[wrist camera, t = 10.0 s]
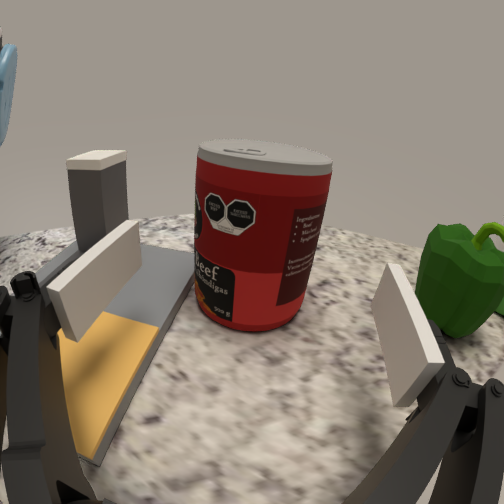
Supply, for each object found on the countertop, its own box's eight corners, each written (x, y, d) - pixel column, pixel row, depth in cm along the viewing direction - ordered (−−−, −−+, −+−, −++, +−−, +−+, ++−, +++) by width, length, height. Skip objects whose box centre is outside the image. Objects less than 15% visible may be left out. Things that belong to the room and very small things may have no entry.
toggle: (77, 250, 22) (66, 159, 18) (100, 232, 25) (93, 150, 21) (110, 257, 21) (100, 159, 17) (131, 238, 25) (126, 150, 21)
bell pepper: (392, 286, 25) (426, 186, 20) (455, 296, 24) (491, 208, 19) (416, 351, 17) (478, 226, 12) (487, 352, 16) (544, 250, 12)
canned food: (192, 271, 24) (196, 136, 18) (283, 269, 25) (305, 144, 20) (197, 338, 17) (199, 156, 12) (315, 329, 19) (358, 170, 14)
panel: (-39, 364, 10) (-53, 344, 9) (86, 242, 26) (83, 224, 25) (99, 466, 9) (84, 452, 8) (203, 264, 25) (204, 244, 24)
